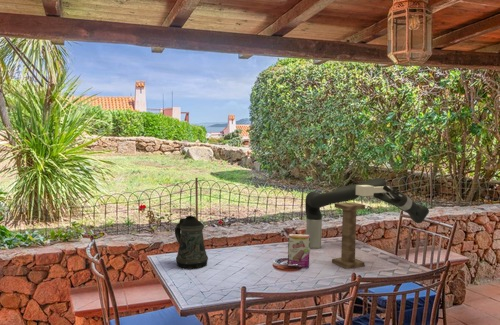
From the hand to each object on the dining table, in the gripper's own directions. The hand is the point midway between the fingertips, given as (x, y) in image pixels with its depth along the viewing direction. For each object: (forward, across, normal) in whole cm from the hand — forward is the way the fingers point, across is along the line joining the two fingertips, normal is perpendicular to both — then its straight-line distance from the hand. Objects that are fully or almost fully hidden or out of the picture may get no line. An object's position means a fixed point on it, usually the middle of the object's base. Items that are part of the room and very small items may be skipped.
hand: (382, 186), depth 240 cm
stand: (-3, +1, -45) cm, 46 cm away
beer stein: (+63, +35, -84) cm, 111 cm away
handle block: (+3, 0, -6) cm, 7 cm away
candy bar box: (+19, +9, -59) cm, 62 cm away
